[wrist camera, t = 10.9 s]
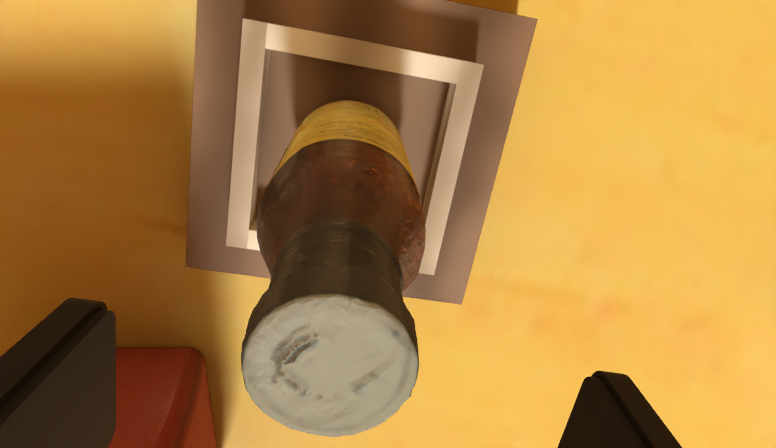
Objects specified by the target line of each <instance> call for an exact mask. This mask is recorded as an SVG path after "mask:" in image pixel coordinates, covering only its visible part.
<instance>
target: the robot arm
mask: <svg viewBox="0 0 776 448" xmlns="http://www.w3.org/2000/svg"><path fill="white" fill-rule="evenodd" d="M115 428H116V332H115V314H114V312H112V311H107V307H106V305H105V303H103V302H99V301H92V300H84V299H77V298H69V299H67V300H66V301H64V302H63V303H62V304H61V305H60V306H59V307H58V308H56V309H55V310H54V311H53V312H52V313H51V314H50V315H48V316H47V317H46V318H45V319H44V320H43V321H41V322H40V323H39V324H38V325H37V326H36V327H35V328H33V329H32V330H31V331H30V332H29V333H28V334H27V335H25V336H24V337H23V338H22V339H21V340H20V341H18V342H17V343H16V344H15V345H14V346H13V347H12V348H10V349H9V350H8V351H7V352H6V353H5V354H4V355H2V356H1V357H0V448H108V446H109V444H110V442H111V441H112V438H113V436H114V432H115ZM558 448H682V447H681V446H680V444H679V443H678V442H677V440H676V439H675V437H674V436H673V435H672V433H671V432H670V431H669V429H668V428H667V427H666V425H665V424H664V423H663V421H662V420H661V419H660V417H659V416H658V415H657V413H656V412H655V411H654V409H653V408H652V407H651V405H650V404H649V403H648V401H647V400H646V399H645V397H644V396H643V395H642V393H641V392H640V391H639V389H638V388H637V387H636V385H635V384H634V383H633V381H632V380H631V379H630V378H629V377H628V376H627V375H625V374H619V373H612V372H605V371H596V372H595V373H594V374H593V375H592V376H591V377H586V378H585V379H584V381H583V383H582V386H581V388H580V391H579V394H578V396H577V399H576V401H575V404H574V407H573V409H572V412H571V414H570V417H569V420H568V422H567V425H566V427H565V430H564V433H563V435H562V438H561V440H560V443H559V446H558Z"/></svg>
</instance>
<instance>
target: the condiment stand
mask: <svg viewBox="0 0 776 448" xmlns="http://www.w3.org/2000/svg"><path fill="white" fill-rule="evenodd" d="M537 20H538V19H535V18H530V17H525V16H520V15H515V14H510V13H506V12H501V11H496V10H491V9H486V8H481V7H476V6H472V5H467V4H462V3H457V2H452V1H447V0H197V22H196V45H195V67H194V90H193V112H192V135H191V158H190V180H189V203H188V225H187V248H186V267H190V268H197V269H205V270H212V271H219V272H227V273H234V274H241V275H249V276H256V277H263V278H271V275H270V273H269V270H268V268H267V266H266V263H265V261H264V259H263V257H262V254H261V252H260V248H259V244H258V240H257V230H256V223H257V213H258V209H259V205H260V201H261V198H262V196H263V194H264V192H265V189H266V187H267V185H268V183H269V181H270V179H271V177H272V175H273V173H274V171H275V170H276V167H277V166H278V164H279V162H280V160H281V158H282V157H283V154H284V152H285V150H286V149H287V147H288V146H289V144H290V142H291V140H292V138H293V137H294V134H295V132H296V130H297V129H298V127H299V126H300V124H301V123H302V122H303V121H304V120H305V118H306V117H307V116H308V115H309V114H310V113H312V112H313V111H315V110H316V109H318V108H319V107H321V106H323V105H324V104H326V103H327V102H332V101H337V100H357V101H364V102H366V103H370V104H372V105H373V106H374V107H376V108H377V109H379V110H380V111H381V112H382V113H384V114H385V115H386V116H387V117H388V118H389V119H390V120H391V121H392V122H393V124H394V125H395V127H396V128H397V130H398V132H399V134H400V136H401V139H402V142H403V145H404V147H405V151H406V154H407V157H408V160H409V164H410V167H411V170H412V173H413V176H414V179H415V182H416V185H417V188H418V191H419V195H420V201H421V207H422V211H423V217H424V220H425V227H426V238H425V250H424V254H423V257H422V261H421V266H420V269H419V274H418V276H417V277H416V278H415V280H414V281H413V282H412V283H411V284H410V285H409V287H408V288H407V289H406V290H405V291H404V292H403V293H402V296H403V297H410V298H418V299H425V300H432V301H440V302H447V303H454V304H462V301H463V298H464V294H465V290H466V286H467V283H468V279H469V275H470V271H471V268H472V264H473V260H474V256H475V253H476V249H477V245H478V241H479V238H480V234H481V230H482V226H483V222H484V219H485V215H486V211H487V207H488V204H489V200H490V196H491V192H492V189H493V185H494V181H495V177H496V174H497V170H498V166H499V162H500V159H501V155H502V151H503V147H504V144H505V140H506V136H507V132H508V129H509V125H510V121H511V117H512V113H513V110H514V106H515V102H516V98H517V95H518V91H519V87H520V83H521V80H522V76H523V72H524V68H525V65H526V61H527V57H528V53H529V50H530V46H531V42H532V38H533V35H534V31H535V27H536V23H537Z"/></svg>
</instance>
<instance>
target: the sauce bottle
mask: <svg viewBox="0 0 776 448" xmlns="http://www.w3.org/2000/svg"><path fill="white" fill-rule="evenodd" d="M256 230H257V240H258V244H259V248H260V252H261V254H262V257H263V259H264V261H265V263H266V266H267V268H268V270H269V273H270V275H271V282H270V285H269V289H268V290H267V291H266V292H265V293H264V294H263V295H262V297H261V298H260V300H259V302H258V304H257V305H256V307H255V308H254V309H253V311H252V314H251V316H250V319H249V322H248V326H247V329H246V334H245V338H244V340H243V342H242V352H241V367H242V373H243V377H244V383H245V388H246V390H247V391H248V393H249V395H250V397H251V398H252V400H253V401H254V403H255V404H256V405H257V406H258V407H259V408H260V409H261V410H262V412H264V413H265V414H267V415H268V416H270V417H271V418H273V419H274V420H276V421H278V422H279V423H281V424H283V425H285V426H287V427H288V428H290V429H294V430H298V431H301V432H305V433H309V434H314V435H320V436H329V437H338V436H344V435H354V434H357V433H360V432H362V431H366V430H369V429H371V428H373V427H376V426H378V425H379V424H381V423H383V422H384V421H386V420H387V419H388V418H389V417H391V416H392V415H393V414H395V413H396V412H397V411H398V410H399V408H400V407H401V406H402V404H403V403H404V402H405V401H406V400H407V399H408V398H409V397H410V396H411V392H412V389H413V387H414V386H415V383H416V379H417V375H418V369H419V356H418V344H417V337H416V331H415V323H414V319H413V318H412V316H411V314H410V312H409V311H408V309H407V308H406V306H405V303H404V302H403V297H402V293H403V292H404V291H405V290H406V289H407V288H408V287H409V285H410V284H411V283H412V282H413V281H414V280H415V278H416V277H417V276H418V274H419V269H420V266H421V261H422V257H423V254H424V250H425V238H426V227H425V220H424V217H423V211H422V207H421V201H420V195H419V191H418V188H417V185H416V182H415V179H414V176H413V173H412V170H411V167H410V164H409V160H408V157H407V154H406V151H405V147H404V145H403V142H402V139H401V136H400V134H399V132H398V130H397V128H396V127H395V125H394V124H393V122H392V121H391V120H390V119H389V118H388V117H387V116H386V115H385V114H384V113H382V112H381V111H380V110H379V109H377V108H376V107H374V106H373V105H372V104H370V103H366V102H364V101H357V100H337V101H332V102H327V103H326V104H324V105H323V106H321V107H319V108H318V109H316V110H315V111H313V112H312V113H310V114H309V115H308V116H307V117H306V118H305V120H304V121H303V122H302V123H301V124H300V126H299V127H298V129H297V130H296V132H295V134H294V137H293V138H292V140H291V142H290V144H289V146H288V147H287V149H286V150H285V152H284V154H283V157H282V158H281V160H280V162H279V164H278V166H277V167H276V170H275V171H274V173H273V175H272V177H271V179H270V181H269V183H268V185H267V187H266V189H265V192H264V194H263V196H262V198H261V201H260V205H259V209H258V213H257V223H256Z"/></svg>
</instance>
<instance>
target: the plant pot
mask: <svg viewBox="0 0 776 448" xmlns="http://www.w3.org/2000/svg"><path fill="white" fill-rule="evenodd" d="M108 448H217V447H216V439H215V432H214V425H213V417H212V410H211V402H210V395H209V388H208V381H207V373H206V365H205V359H204V357H203V355H202V354H201V353H200V352H199V351H197V350H195V349H193V348H116V428H115V432H114V436H113V438H112V441H111V442H110V444H109V446H108Z"/></svg>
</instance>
